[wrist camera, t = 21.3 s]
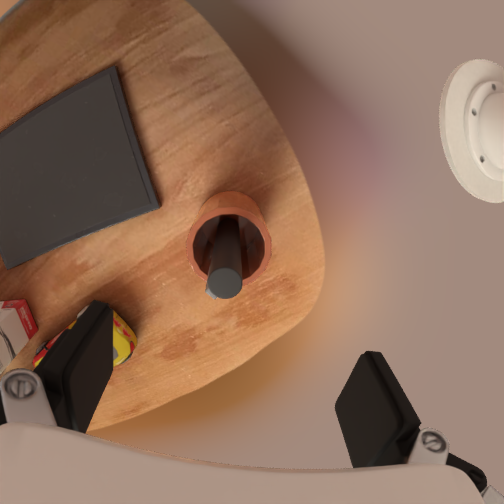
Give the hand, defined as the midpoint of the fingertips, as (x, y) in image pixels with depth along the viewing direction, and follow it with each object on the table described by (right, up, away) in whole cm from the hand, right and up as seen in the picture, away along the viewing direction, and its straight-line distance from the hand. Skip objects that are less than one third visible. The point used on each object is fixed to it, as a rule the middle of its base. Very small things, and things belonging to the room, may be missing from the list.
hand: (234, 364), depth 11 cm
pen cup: (-1, +7, +20) cm, 21 cm away
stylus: (-2, +7, +19) cm, 21 cm away
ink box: (-32, -4, +22) cm, 39 cm away
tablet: (-21, +12, +17) cm, 29 cm away
